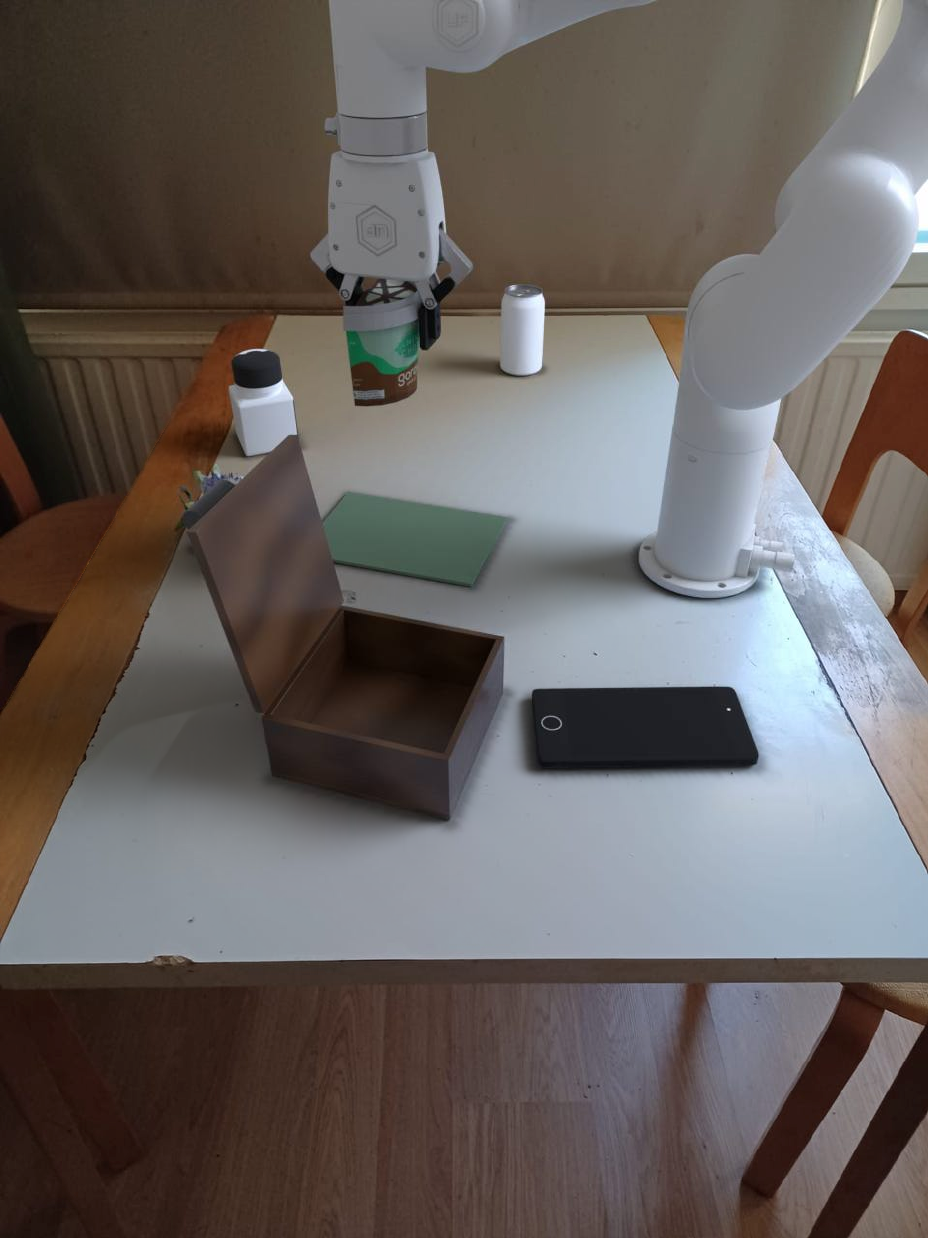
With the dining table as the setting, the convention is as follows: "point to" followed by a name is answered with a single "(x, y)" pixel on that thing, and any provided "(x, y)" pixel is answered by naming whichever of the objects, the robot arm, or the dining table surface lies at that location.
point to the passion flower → (205, 486)
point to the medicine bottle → (261, 402)
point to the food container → (384, 342)
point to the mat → (411, 538)
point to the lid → (266, 567)
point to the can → (522, 330)
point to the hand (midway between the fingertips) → (394, 339)
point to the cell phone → (641, 727)
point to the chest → (387, 710)
